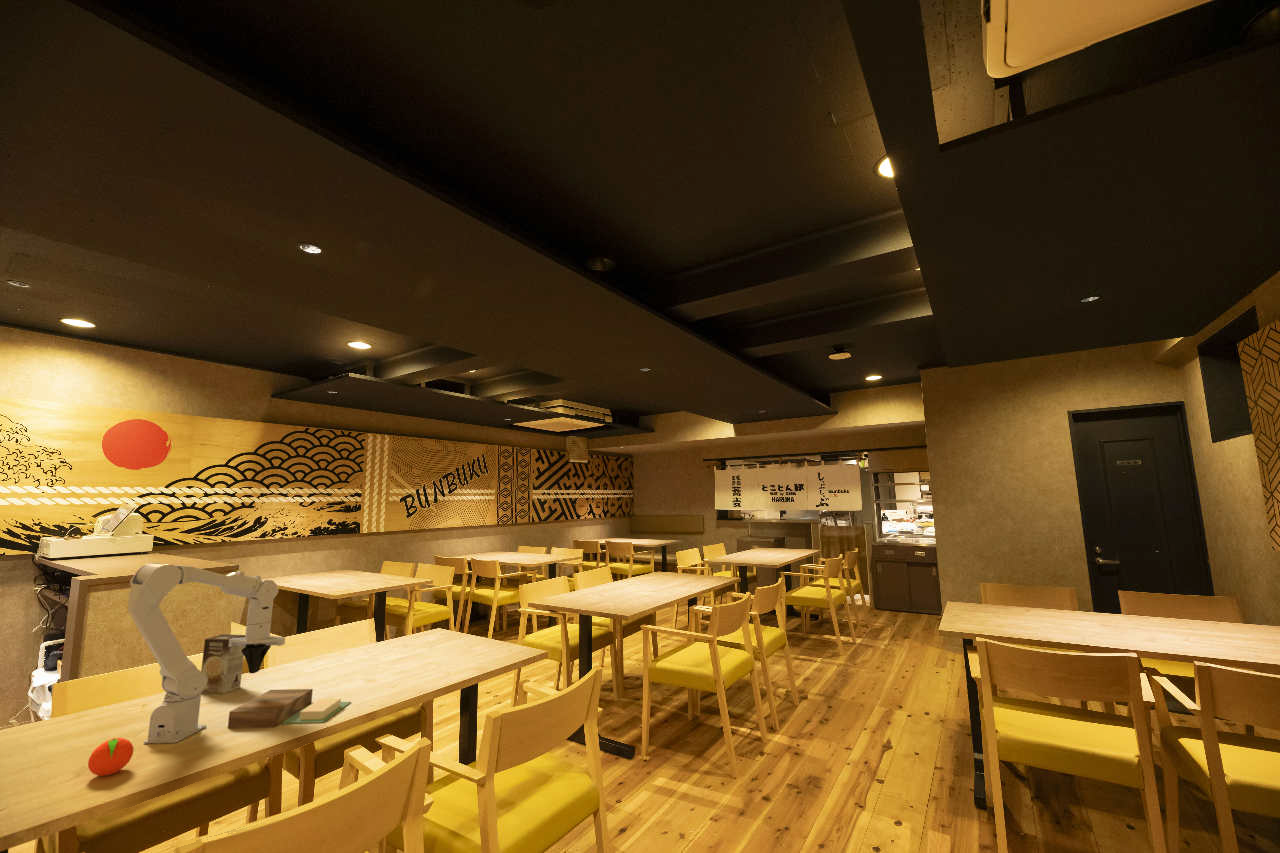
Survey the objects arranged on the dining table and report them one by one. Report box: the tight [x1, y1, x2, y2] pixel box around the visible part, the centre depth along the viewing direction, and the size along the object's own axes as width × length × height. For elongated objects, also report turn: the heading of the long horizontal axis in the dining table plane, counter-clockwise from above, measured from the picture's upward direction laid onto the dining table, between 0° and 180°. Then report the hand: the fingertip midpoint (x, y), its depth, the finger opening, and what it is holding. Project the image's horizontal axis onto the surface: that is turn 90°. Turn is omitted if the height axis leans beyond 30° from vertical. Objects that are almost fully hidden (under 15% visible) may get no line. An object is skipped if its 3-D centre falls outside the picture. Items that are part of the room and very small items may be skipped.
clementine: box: [87, 737, 134, 777], centre depth 112 cm, size 8×7×7 cm
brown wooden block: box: [227, 688, 314, 729], centre depth 142 cm, size 16×12×4 cm
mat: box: [280, 701, 352, 725], centre depth 144 cm, size 14×11×1 cm
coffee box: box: [200, 633, 246, 695], centre depth 163 cm, size 9×6×16 cm
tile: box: [299, 698, 342, 720], centre depth 143 cm, size 9×6×2 cm, turn 2°
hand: (254, 672), depth 146 cm, fingers closed
